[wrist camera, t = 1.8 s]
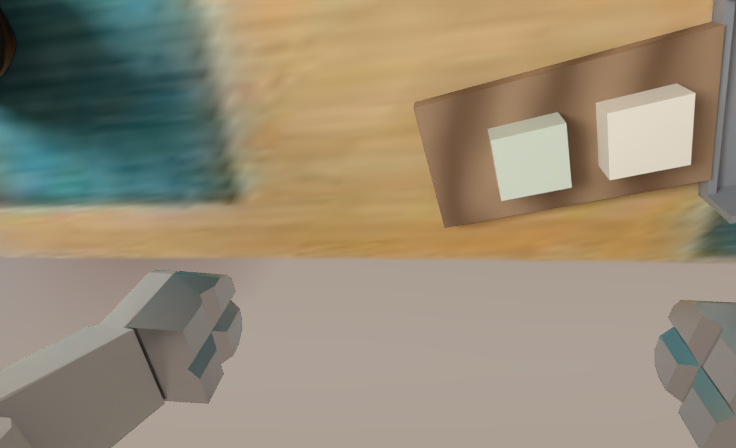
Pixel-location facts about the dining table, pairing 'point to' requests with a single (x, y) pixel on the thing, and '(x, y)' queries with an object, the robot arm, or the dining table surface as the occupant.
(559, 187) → the sage tile
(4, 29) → the ceramic jug
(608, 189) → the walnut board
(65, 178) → the dining table surface
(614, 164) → the cream tile
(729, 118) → the grey bin
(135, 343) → the robot arm
